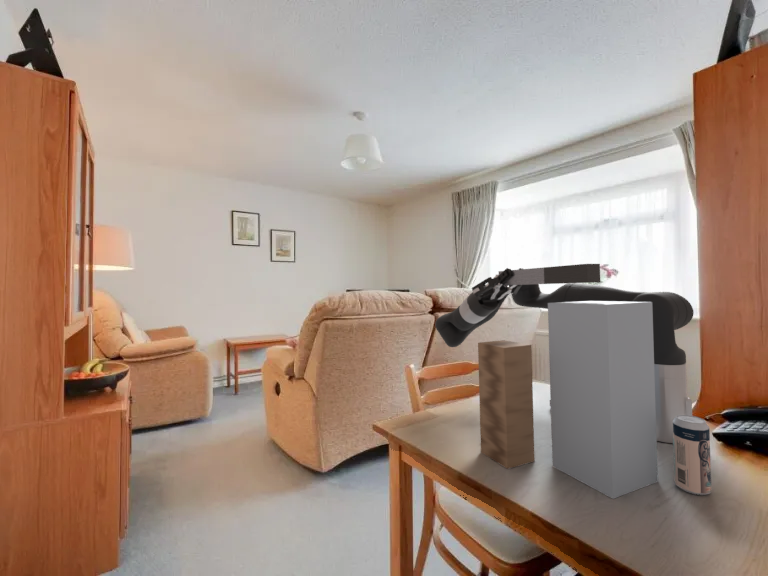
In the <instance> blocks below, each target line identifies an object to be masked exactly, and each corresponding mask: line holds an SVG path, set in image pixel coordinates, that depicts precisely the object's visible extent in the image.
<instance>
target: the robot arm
mask: <svg viewBox="0 0 768 576" xmlns="http://www.w3.org/2000/svg"><path fill="white" fill-rule="evenodd" d="M520 269H524V268H522V267H521V268H518V269H517V270H520ZM511 270H512V269H511V268H510V267H507V268H506V269H504V270H502V271H503V272H502V273H501V274H500V275H499V274H498V275H499V276H496V275H495V276H494V277H493V278H492V277H491V276H489V277H487V278H485V279H484V280H482V281H481V282H479V283H477V284H476V285H474V286H473V287H471V290H472V292H470V294H469V295H467V297H466V298H465V299H464V300H463V301H462V303H461V304H460V305H459V306H458V307H456V308H455V309H454V310H453V311H451V312H449V313H445V314H442V315H441V316H439V317H437V319H436V320H435V324H434V325H435V326H434V327H435V329H436V331H437V333H438V334H439V335H440V336H441V338H442V340H443V342H444V343H445V344H446V346H448V347H449V348H456V347H458V346H460V345H462V344H463V342H464V341H465V340H467V338H468V336H470V334H471V333H472V332H474V330H476V329H477V328H479V327H481V326H483V325H484V324H485V323H487V322H488V321H490V320H492V319H493V318H494V317H495V315H496V314H497V313H498V311H499V310H500V308H501V306H502V304H503V303H504V302H505V300H506V299H507V297H509V295H511V298H512V300H513V302H514V304H515V305H517V306H519V307H524V308H525V307H526V308H535V309H536V308H537V309H544V310H548V303H557V302H577V301H627V302H652V309H653V342H654V375H655V408H656V440H657V442H662V443H667V444H673V420H674V418H675V417H676V416H677V415H690V416H693V401H692V399H691V397H689V396H688V385H687V384H688V382H687V381H688V379H687V354H686V351H685V350H683V349H682V348H681V347H679V346H678V345H677V341H676V333H675V331H676V330H679V329H681V328H683V327H686V326H687V325H688V324H689V323H690V322H692V320H693V317H694V309H693V306H692V304H691V303H690V302H689V300H688V299H686V298H685V297H684V296H682V295H680V294H678V293H675V292H671V291H650V292H649V291H631V290H624V289H619V288H614V287H611V286H603V285H598V284H597V285H596V284H591V283H564V284H563V285H561V286H560V287H558V288H557V289H555V290H554V291H552V292H551V293H544V292H542V291H541V289H540V284H529V285H502V283H505V282H506V281H507V280H508V279H509V278H511V277H512V275H513V274H512V271H511Z"/></svg>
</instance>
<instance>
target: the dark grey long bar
mask: <svg viewBox="0 0 768 576" xmlns="http://www.w3.org/2000/svg"><path fill="white" fill-rule="evenodd" d="M519 269H520V268H519ZM503 271H504V270H499V271H498V274H495V276H499V275H500V274H501V273H502V272H503ZM511 271H512V274H513V275H512V277H511V278H509V279H508V280H507V281H506V282H505V283H502V285H529V284H539V285H550V284H551V285H552V284H553V285H554V284H555V285H556V284H557V285H558V284H567V283H584V284H591V283H601V265H600V263H580V264H570V265H557V266H546V267H545V266H544V267H533V268H523V269H520V270H518V269H511Z"/></svg>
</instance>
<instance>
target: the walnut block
mask: <svg viewBox="0 0 768 576" xmlns="http://www.w3.org/2000/svg"><path fill="white" fill-rule="evenodd" d="M532 352H533V351H532V344H528V343H523V342H517V341H516V342H515V341H510V340H505V339H502V340H501V339H500V340H492V341H490V340H489V341H481V342H478V343H477V354H478V355H477V356H478V357H477V358H478V387H479V389H478V391H479V392H478V395H479V396H478V397H479V427H480V429H479V430H480V453H481V454H483V455H485V456H486V457H488V458H489V459H492V460H493V461H494V462H496V463H498V464H499V465H500V466H502V467H504V468H505V469H507V470H509V469H513V468H516V467H520V466H522V465H525V464H530V463H533V462H535V461H536V460H535V459H536V458H535V430H534V429H535V425H534V424H535V423H534V399H533V397H534V396H533V393H534V392H533V359H532V358H533V357H532V355H533V353H532Z"/></svg>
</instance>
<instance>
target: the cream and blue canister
mask: <svg viewBox="0 0 768 576" xmlns="http://www.w3.org/2000/svg"><path fill="white" fill-rule="evenodd" d="M710 431H711V430H710V426H709V425H708V423H707V422H706V420H705V418H704V419H703V418H701V417H699V416H695V415H692V416H690V415H677V416H676V417H675V418H674V420H673V443H672V445H673V469H674V471H673V472H674V474H673V475H674V484H675V485H676V486H677V487H678V488H680V489H681V490H682V491H684V492H686V493H689V494H691V493H692V494H693V495H696V494H697V495H698V496H705V495H709V494H711V493H712V471H711V470H712V469H711V466H712V465H711V439H710V438H711V436H710ZM699 494H700V495H699ZM697 495H696V496H697Z"/></svg>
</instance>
